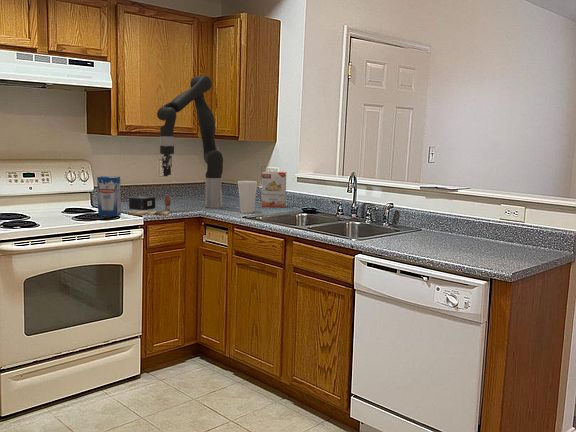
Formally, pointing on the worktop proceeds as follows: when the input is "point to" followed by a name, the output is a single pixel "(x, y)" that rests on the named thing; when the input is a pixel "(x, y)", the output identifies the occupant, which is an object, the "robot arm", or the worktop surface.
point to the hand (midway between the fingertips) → (167, 175)
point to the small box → (142, 202)
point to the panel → (149, 212)
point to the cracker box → (273, 189)
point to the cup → (247, 195)
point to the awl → (167, 202)
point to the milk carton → (109, 196)
